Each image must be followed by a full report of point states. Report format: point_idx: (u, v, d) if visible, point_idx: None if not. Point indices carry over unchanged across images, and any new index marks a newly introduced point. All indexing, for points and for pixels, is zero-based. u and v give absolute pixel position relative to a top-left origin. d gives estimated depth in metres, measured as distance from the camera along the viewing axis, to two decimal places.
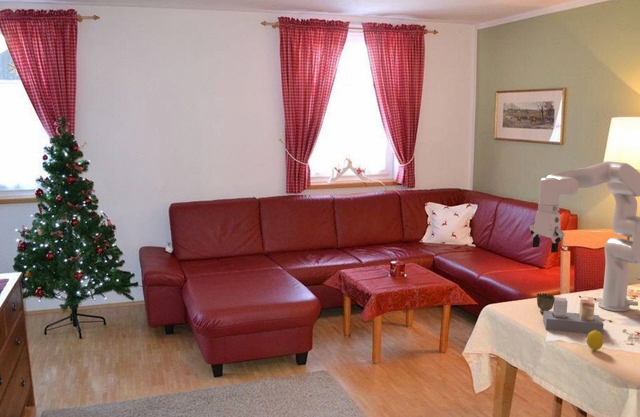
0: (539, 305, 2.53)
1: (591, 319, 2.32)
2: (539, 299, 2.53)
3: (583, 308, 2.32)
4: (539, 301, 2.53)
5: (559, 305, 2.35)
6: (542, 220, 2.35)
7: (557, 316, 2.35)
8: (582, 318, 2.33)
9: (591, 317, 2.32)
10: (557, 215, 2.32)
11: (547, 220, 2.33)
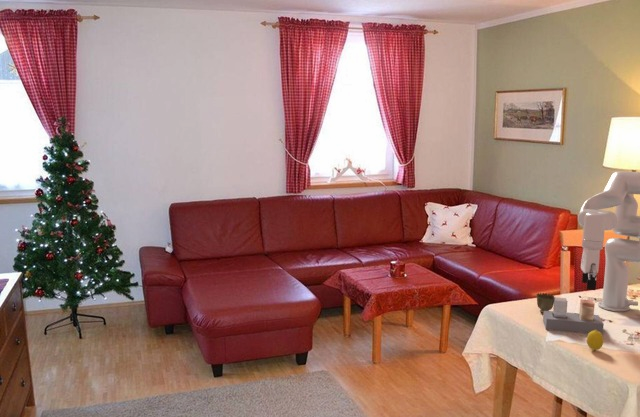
0: (539, 305, 2.53)
1: (591, 319, 2.32)
2: (539, 299, 2.53)
3: (583, 308, 2.32)
4: (539, 301, 2.53)
5: (559, 305, 2.35)
6: None
7: (557, 316, 2.35)
8: (582, 318, 2.33)
9: (591, 317, 2.32)
10: None
11: None
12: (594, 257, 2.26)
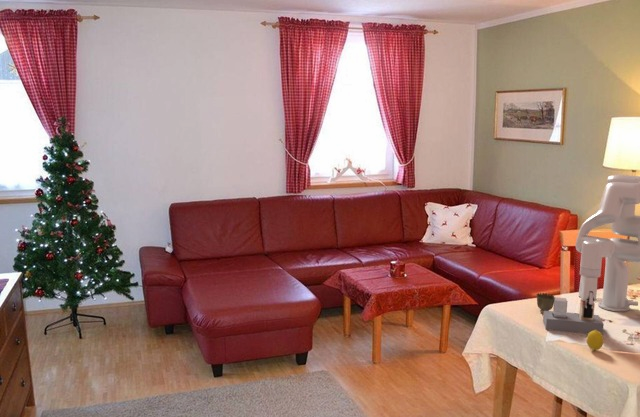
0: (539, 305, 2.53)
1: (591, 319, 2.32)
2: (539, 299, 2.53)
3: (583, 308, 2.32)
4: (539, 301, 2.53)
5: (559, 305, 2.35)
6: None
7: (557, 316, 2.35)
8: (582, 318, 2.33)
9: None
10: None
11: None
12: (592, 285, 2.28)
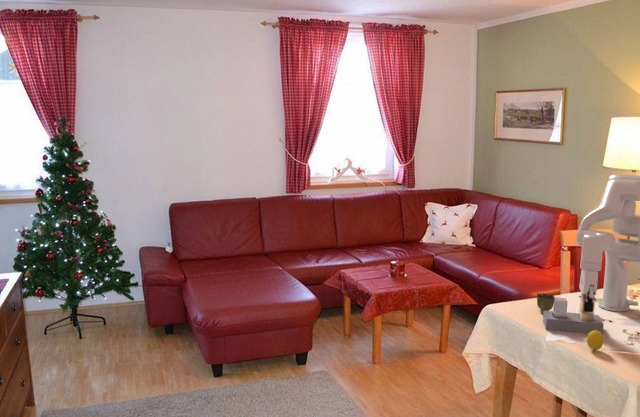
0: (539, 305, 2.53)
1: (591, 313, 2.32)
2: (539, 299, 2.53)
3: None
4: (539, 301, 2.53)
5: (559, 305, 2.35)
6: None
7: (557, 316, 2.35)
8: (583, 312, 2.33)
9: None
10: None
11: None
12: (592, 279, 2.27)
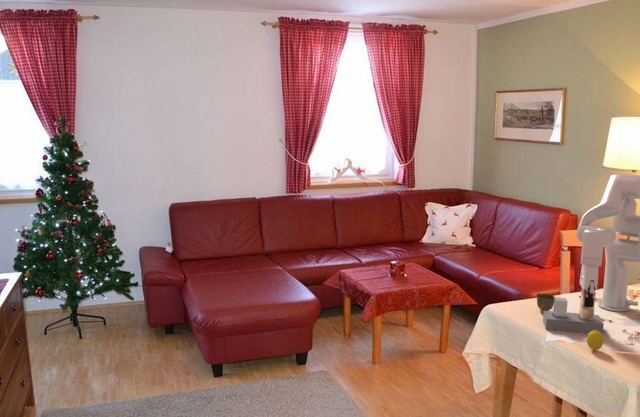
0: (539, 305, 2.53)
1: (592, 308, 2.32)
2: (539, 299, 2.53)
3: (584, 297, 2.32)
4: (539, 301, 2.53)
5: (559, 305, 2.35)
6: None
7: (557, 316, 2.35)
8: (583, 307, 2.32)
9: None
10: None
11: None
12: (593, 274, 2.27)
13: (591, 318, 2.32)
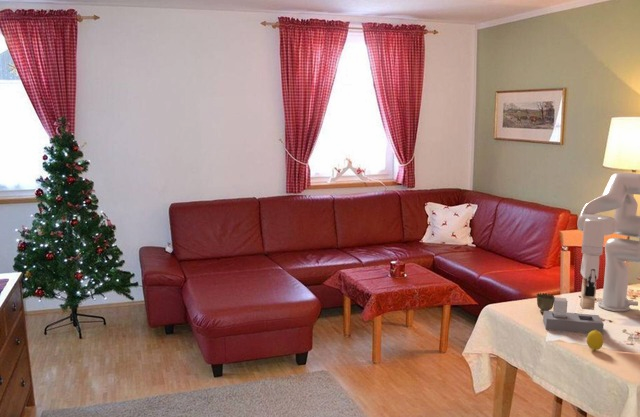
0: (539, 305, 2.53)
1: (592, 297, 2.31)
2: (539, 299, 2.53)
3: (585, 286, 2.31)
4: (539, 301, 2.53)
5: (559, 305, 2.35)
6: None
7: (557, 316, 2.35)
8: (584, 297, 2.32)
9: None
10: None
11: None
12: (594, 263, 2.26)
13: (592, 307, 2.32)
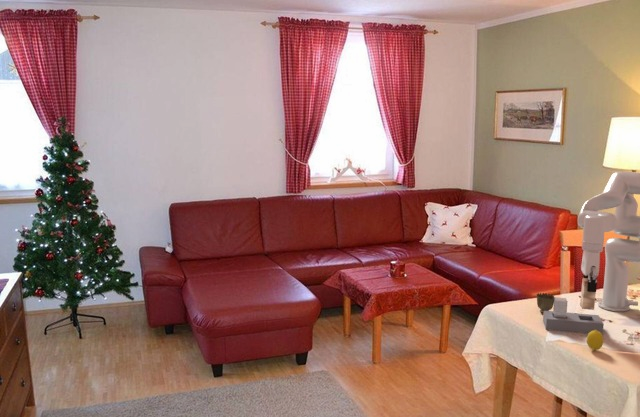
0: (539, 305, 2.53)
1: (593, 297, 2.31)
2: (539, 299, 2.53)
3: (585, 286, 2.31)
4: (539, 301, 2.53)
5: (559, 305, 2.35)
6: None
7: (557, 316, 2.35)
8: (584, 296, 2.32)
9: (593, 295, 2.31)
10: None
11: None
12: (594, 260, 2.26)
13: (592, 307, 2.32)
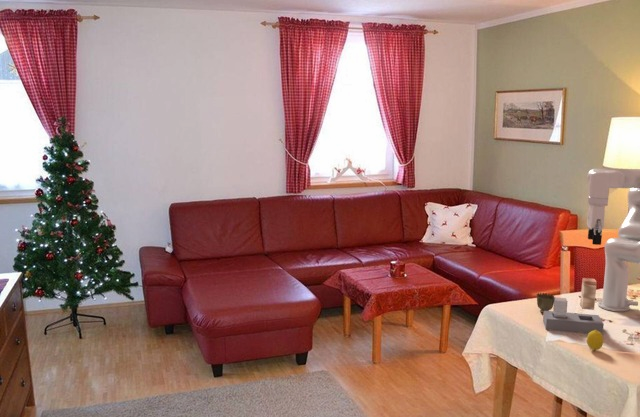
0: (539, 305, 2.53)
1: (593, 297, 2.31)
2: (539, 299, 2.53)
3: (585, 286, 2.31)
4: (539, 301, 2.53)
5: (559, 305, 2.35)
6: None
7: (557, 316, 2.35)
8: (584, 296, 2.32)
9: (593, 295, 2.31)
10: None
11: None
12: (599, 213, 2.37)
13: (592, 307, 2.32)
